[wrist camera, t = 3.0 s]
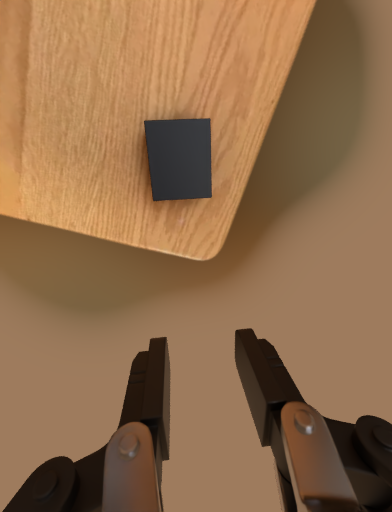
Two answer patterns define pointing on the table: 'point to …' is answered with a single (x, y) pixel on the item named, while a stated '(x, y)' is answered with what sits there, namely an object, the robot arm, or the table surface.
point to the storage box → (179, 158)
